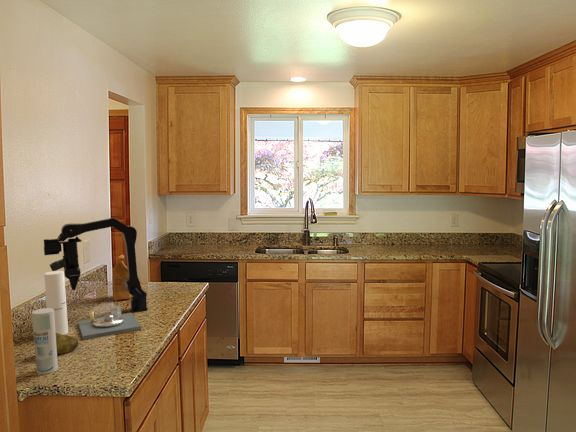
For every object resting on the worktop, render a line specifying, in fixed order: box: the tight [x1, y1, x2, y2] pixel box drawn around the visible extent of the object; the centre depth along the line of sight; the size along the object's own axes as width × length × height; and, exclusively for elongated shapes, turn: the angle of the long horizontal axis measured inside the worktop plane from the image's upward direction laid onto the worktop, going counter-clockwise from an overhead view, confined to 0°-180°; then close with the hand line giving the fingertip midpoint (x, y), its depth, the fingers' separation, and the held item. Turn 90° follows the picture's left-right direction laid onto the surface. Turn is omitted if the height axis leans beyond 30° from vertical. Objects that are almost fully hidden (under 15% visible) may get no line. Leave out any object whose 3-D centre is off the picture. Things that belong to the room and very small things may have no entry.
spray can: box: [31, 307, 59, 375], centre depth 157 cm, size 6×6×20 cm
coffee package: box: [111, 253, 133, 302], centre depth 246 cm, size 10×12×22 cm
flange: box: [93, 304, 124, 327], centre depth 202 cm, size 12×15×4 cm
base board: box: [77, 311, 142, 341], centre depth 200 cm, size 22×22×6 cm
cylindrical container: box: [43, 270, 69, 335], centre depth 193 cm, size 7×7×25 cm
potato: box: [55, 332, 79, 355], centre depth 172 cm, size 8×13×8 cm, turn 104°
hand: (73, 287), depth 210 cm, fingers open, 9 cm apart
